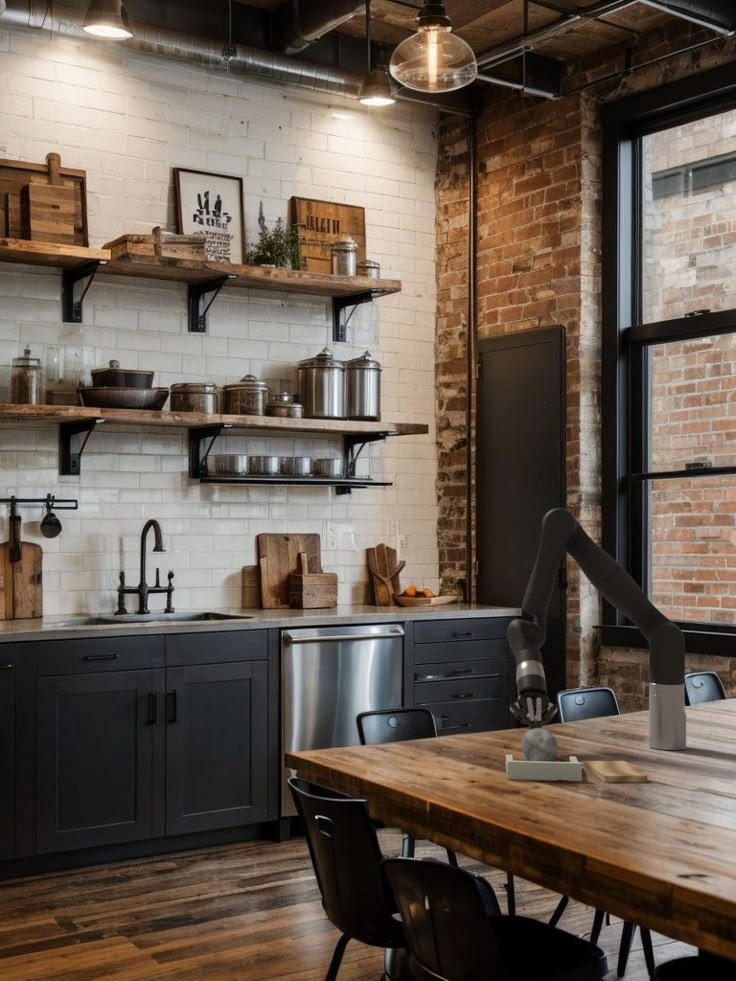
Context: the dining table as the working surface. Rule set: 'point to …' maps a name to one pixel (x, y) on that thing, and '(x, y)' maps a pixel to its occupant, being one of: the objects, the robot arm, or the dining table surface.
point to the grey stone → (539, 745)
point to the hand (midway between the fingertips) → (536, 736)
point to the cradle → (544, 770)
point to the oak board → (615, 771)
